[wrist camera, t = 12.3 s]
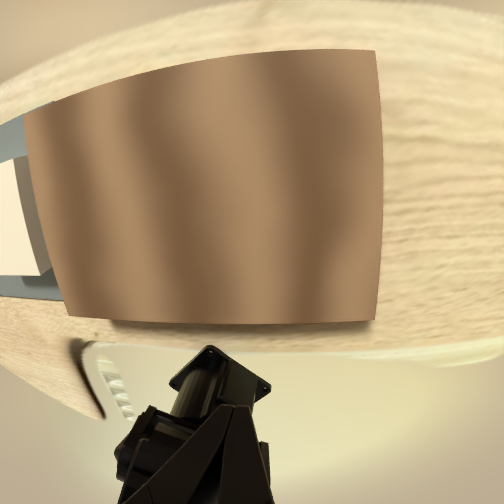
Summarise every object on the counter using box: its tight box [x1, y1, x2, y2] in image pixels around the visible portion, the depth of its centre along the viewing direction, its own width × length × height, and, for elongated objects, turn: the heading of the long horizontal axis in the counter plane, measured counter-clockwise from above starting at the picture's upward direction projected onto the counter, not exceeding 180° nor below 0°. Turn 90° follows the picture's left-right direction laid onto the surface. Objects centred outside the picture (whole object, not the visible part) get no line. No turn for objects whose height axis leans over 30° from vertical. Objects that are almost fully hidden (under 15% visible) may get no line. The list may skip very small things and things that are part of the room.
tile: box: [0, 155, 52, 276], centre depth 20 cm, size 6×9×2 cm, turn 5°
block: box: [23, 49, 383, 324], centre depth 18 cm, size 20×14×4 cm
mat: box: [0, 101, 63, 300], centre depth 22 cm, size 16×16×1 cm
